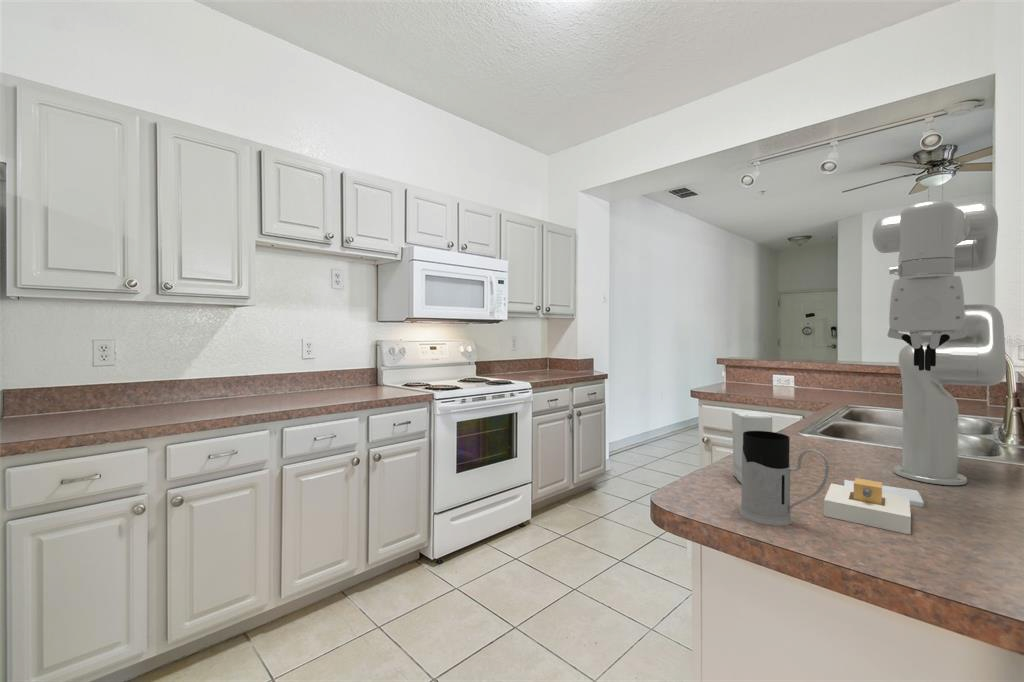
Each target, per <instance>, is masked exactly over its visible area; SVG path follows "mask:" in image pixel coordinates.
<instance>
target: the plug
mask: <svg viewBox="0 0 1024 682" xmlns="http://www.w3.org/2000/svg"><path fill="white" fill-rule="evenodd" d="M853 481H854V500H856V501H861V502H866V503H872V504H877V505H882V485H883V482H882V481H876V480H875V481H874V480H870V479H864V478H857V477H855V478H854V480H853Z"/></svg>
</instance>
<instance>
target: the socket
mask: <svg viewBox="0 0 1024 682" xmlns="http://www.w3.org/2000/svg"><path fill="white" fill-rule="evenodd" d="M823 516H824V517H827V518H832V519H836V520H841V521H845V522H850V523H855V524H859V525H864V526H868V527H874V528H877V529H883V530H887V531H892V532H897V533H902V534H906V535H911V526H912V525H911V524H912V523H911V518H912V517H911V505H910V502H909V497H906V496H900V495H894V494H888V493H883V492H882V505H877V504H872V503H866V502H861V501H856V500H854V487H849V486H844V484H843V485H841V484H838V483H837V484H836V483H832V482H831V483H830V486H829V488H828V490H827V492H826V495H825V497H824V499H823Z"/></svg>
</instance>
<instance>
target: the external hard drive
mask: <svg viewBox="0 0 1024 682" xmlns="http://www.w3.org/2000/svg"><path fill="white" fill-rule="evenodd" d="M854 481H855V480H850V479H849V480H848V479H844V480H843V486H849V487H854ZM882 492H883V493H888V494H894V495H900V496H906V497H909V502H910V504H911V505H910V506H915V505H917V506H916V507H921V508H923V507H925V506H924V505H925V501H924V500H923V498H922V496H921V493H920V492H919V490H915V489H909V488H903V487H895V486H888V485H884V484H882Z"/></svg>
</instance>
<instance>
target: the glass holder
mask: <svg viewBox="0 0 1024 682" xmlns="http://www.w3.org/2000/svg"><path fill="white" fill-rule="evenodd" d="M790 439H791V437H790V436H788V435H786V434H784V433H779V432H774V431H772V432H767V431H746V432H744V433H743V446H742V484H741V500H740V501H741V505H740V507H739V510H738V513H739V515H740V516H741V517H743V518H744V519H746V520H748V521H751V522H753V523H757V524H760V525H766V526H773V527H776V526H777V527H782V526H789V525H791V524H793V522H794V519H793V517H792V515H791V513H792V509H793V508H794V507H796V506H797V505H799V504H801V503H804V502H806V501H807V500H809V499H812V498H813V497H815V496H817V495H818V494H819V493H820V492H821V491H822V489H823V488H824V486H825V485H826V483H827V480H828V477H829V470H830V469H829V466H830V465H829V460H828V459H827V456H826V455H824V454H823V453H822V452H821V451H818V450H816V449H806V450H804V451H802V452H801V453H800V455H799V456H798V460H797V467H796V468H791V464H790V442H791V440H790ZM806 453H815V454H818V455H819V456H820V457H822V459H823V461H824V463H825V471H824V472H825V474H824V477H823V480H822V483H820V485H819V486H818V488H817V489H816V490H815V491H814V492H813V493H812V494H810V495H809V496H807V497H806V496H805V498H802V499H800V500H798V501H796V502H794V503H792V504H791V472H798V471H800V470H801V466H802V460H803V457H804V455H806Z"/></svg>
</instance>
